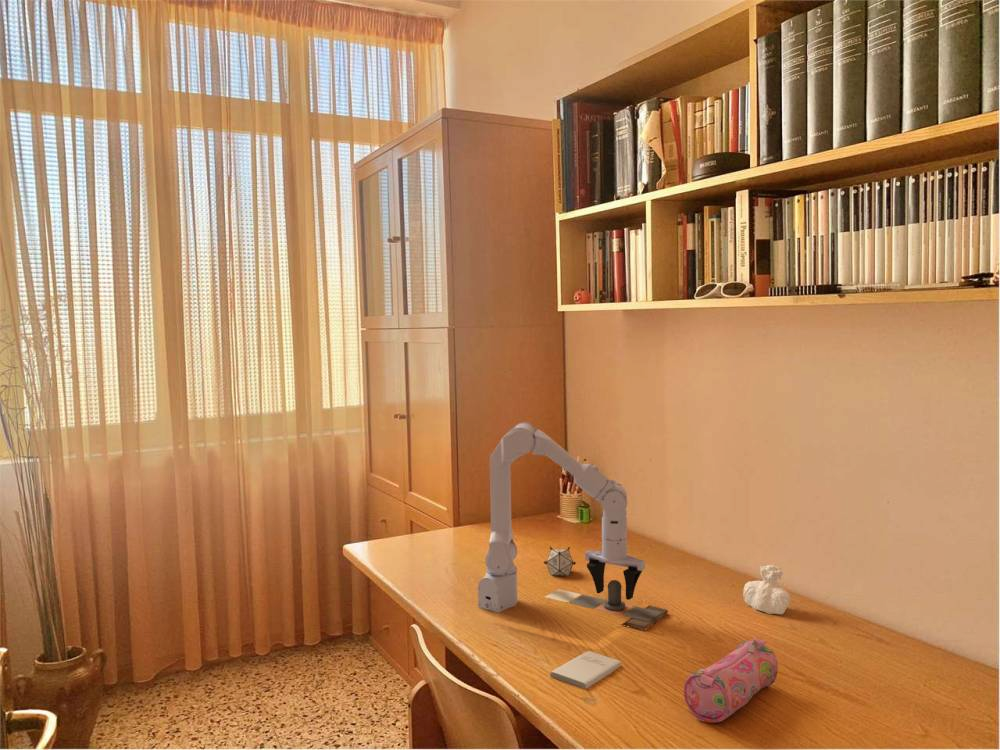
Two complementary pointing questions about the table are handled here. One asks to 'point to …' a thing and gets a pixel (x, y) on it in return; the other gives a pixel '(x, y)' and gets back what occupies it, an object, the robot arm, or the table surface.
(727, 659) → the pencil case
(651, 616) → the board
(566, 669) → the external hard drive
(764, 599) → the bust
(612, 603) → the pawn
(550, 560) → the game die
